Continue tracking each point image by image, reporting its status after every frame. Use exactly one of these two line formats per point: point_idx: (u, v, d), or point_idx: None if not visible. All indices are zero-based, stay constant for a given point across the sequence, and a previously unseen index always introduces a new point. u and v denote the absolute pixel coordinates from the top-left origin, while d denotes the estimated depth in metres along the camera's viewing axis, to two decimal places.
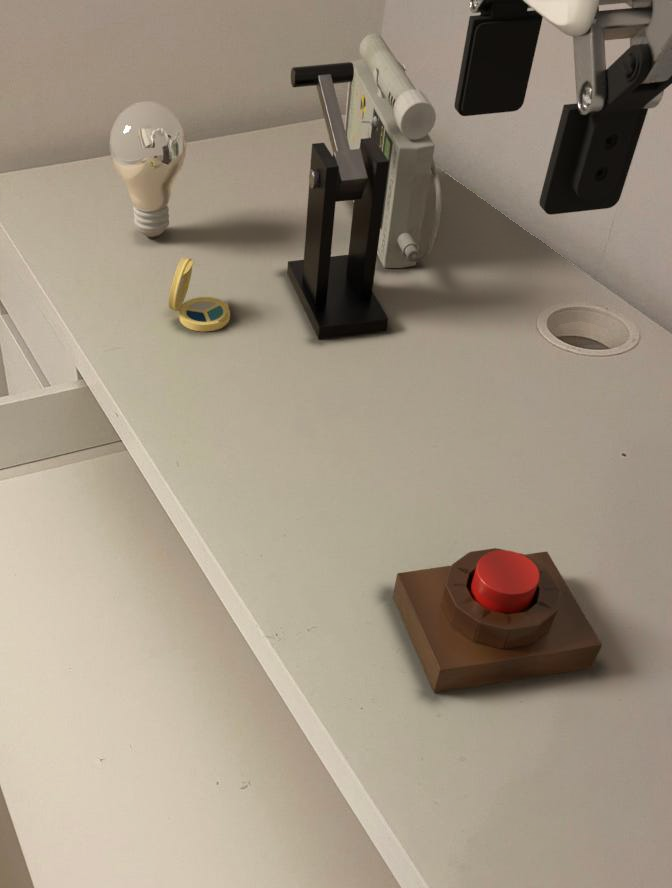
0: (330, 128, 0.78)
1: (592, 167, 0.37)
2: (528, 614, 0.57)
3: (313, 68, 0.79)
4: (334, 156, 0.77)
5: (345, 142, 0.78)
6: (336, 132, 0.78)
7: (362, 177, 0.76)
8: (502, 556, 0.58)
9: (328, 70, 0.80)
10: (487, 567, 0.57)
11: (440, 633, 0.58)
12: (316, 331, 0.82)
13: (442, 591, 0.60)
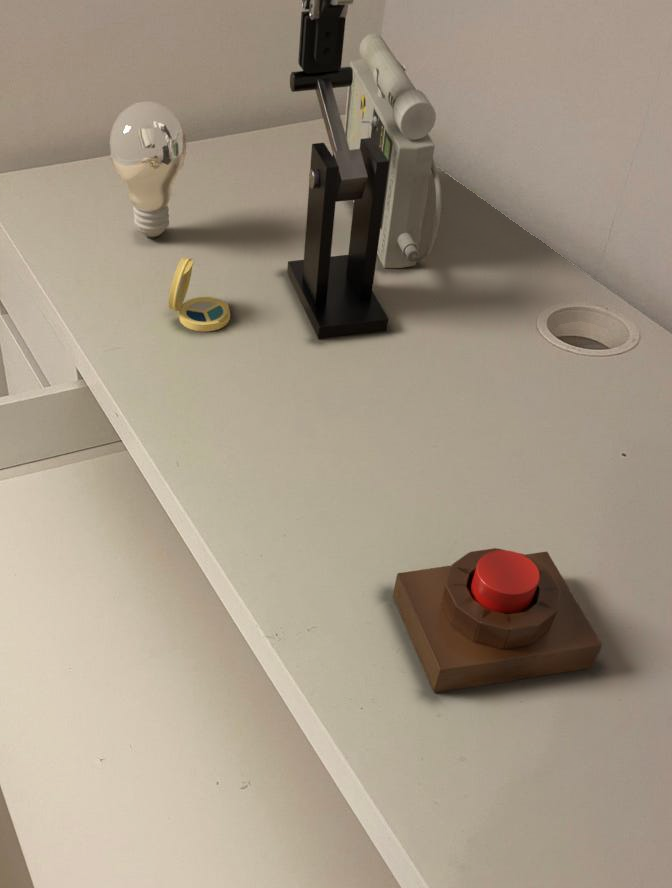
0: (330, 129, 0.79)
1: (321, 47, 0.78)
2: (528, 614, 0.57)
3: (312, 73, 0.80)
4: (334, 156, 0.77)
5: (345, 143, 0.78)
6: (336, 133, 0.78)
7: (362, 176, 0.76)
8: (502, 556, 0.58)
9: (327, 74, 0.80)
10: (487, 567, 0.57)
11: (440, 633, 0.58)
12: (316, 331, 0.82)
13: (442, 591, 0.60)
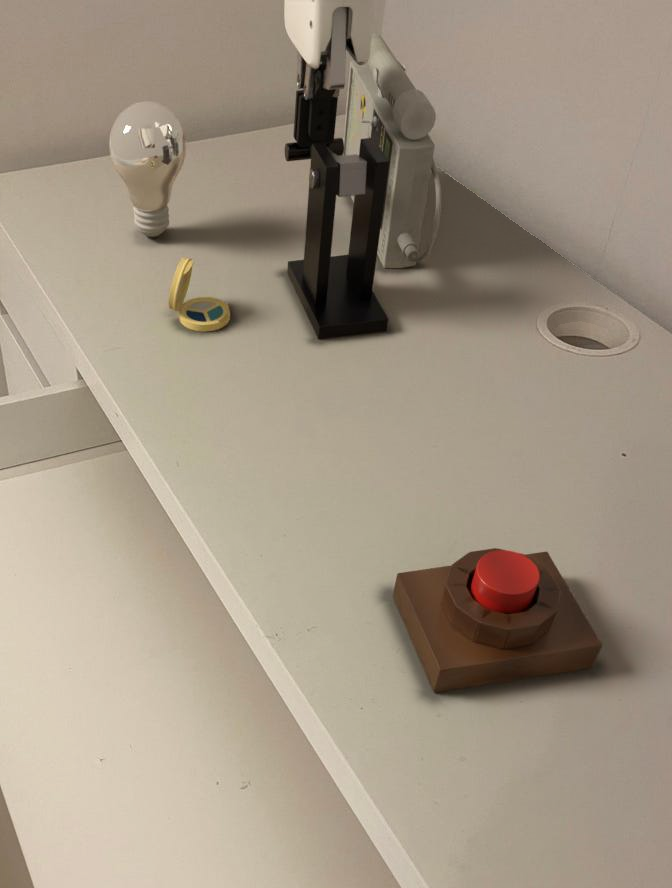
0: None
1: (314, 124, 0.82)
2: (528, 614, 0.57)
3: None
4: None
5: None
6: None
7: (361, 162, 0.76)
8: (502, 556, 0.58)
9: None
10: (487, 567, 0.57)
11: (440, 633, 0.58)
12: (316, 331, 0.82)
13: (442, 591, 0.60)
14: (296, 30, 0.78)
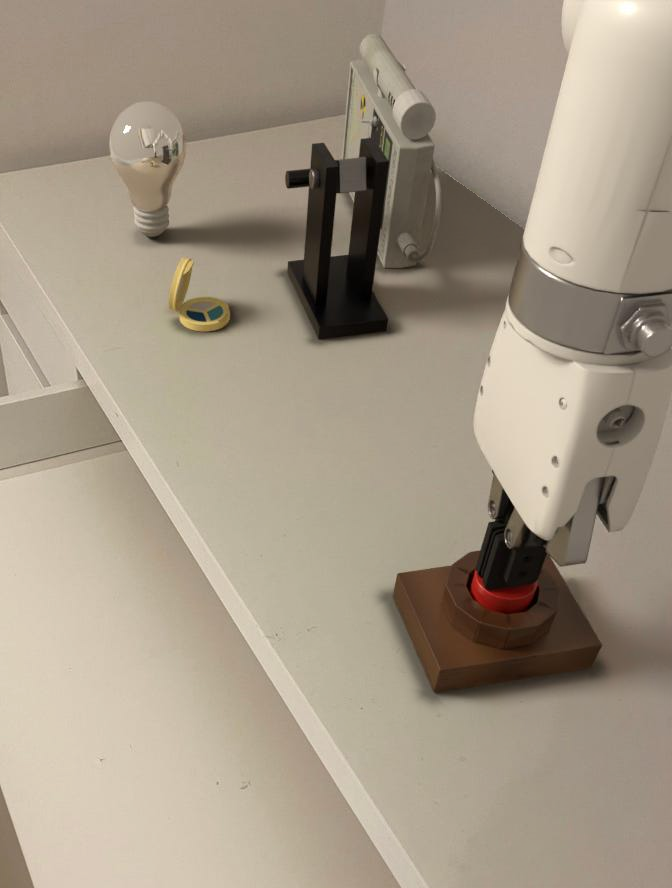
0: None
1: (516, 571, 0.55)
2: (528, 614, 0.57)
3: (304, 169, 0.86)
4: None
5: None
6: None
7: (360, 157, 0.76)
8: None
9: None
10: None
11: (440, 633, 0.58)
12: (316, 331, 0.82)
13: (442, 591, 0.60)
14: (506, 468, 0.50)
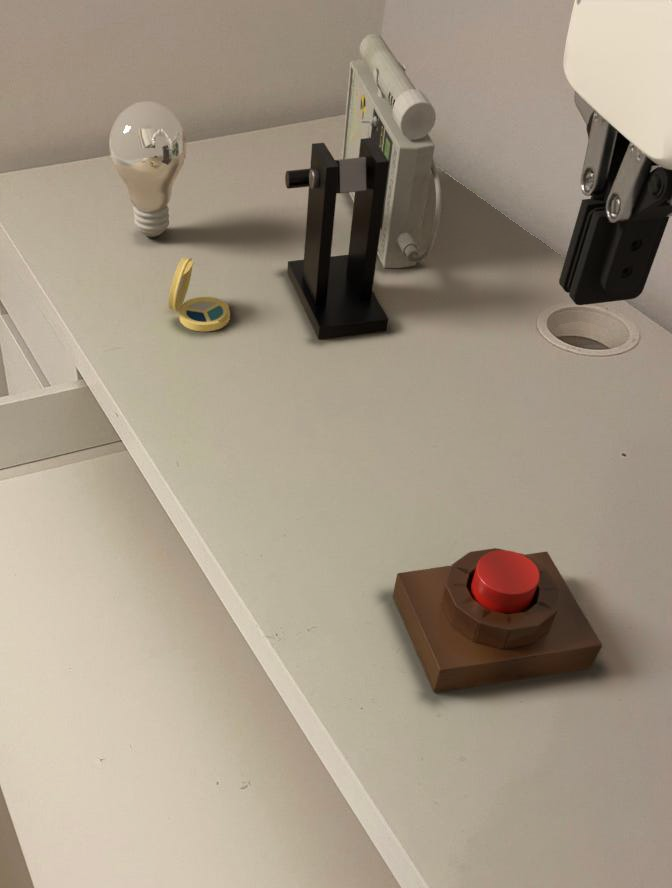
0: None
1: (619, 266, 0.41)
2: (528, 614, 0.57)
3: (304, 169, 0.86)
4: None
5: None
6: None
7: (360, 157, 0.76)
8: (502, 556, 0.58)
9: None
10: (487, 567, 0.57)
11: (440, 633, 0.58)
12: (316, 331, 0.82)
13: (442, 591, 0.60)
14: (618, 84, 0.36)
